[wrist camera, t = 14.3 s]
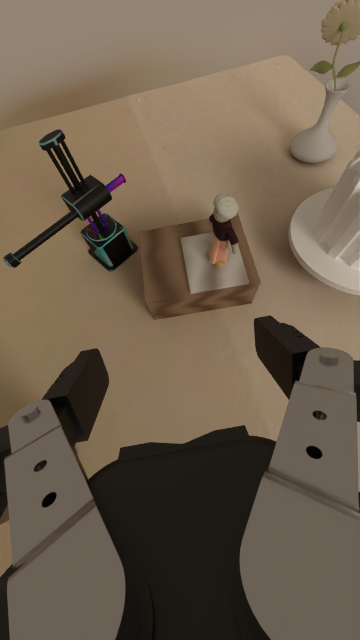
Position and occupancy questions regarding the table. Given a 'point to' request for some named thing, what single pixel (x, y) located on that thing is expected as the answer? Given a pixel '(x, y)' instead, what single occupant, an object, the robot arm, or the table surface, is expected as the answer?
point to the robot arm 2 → (83, 212)
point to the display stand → (194, 270)
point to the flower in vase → (329, 83)
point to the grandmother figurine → (223, 230)
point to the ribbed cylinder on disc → (331, 232)
